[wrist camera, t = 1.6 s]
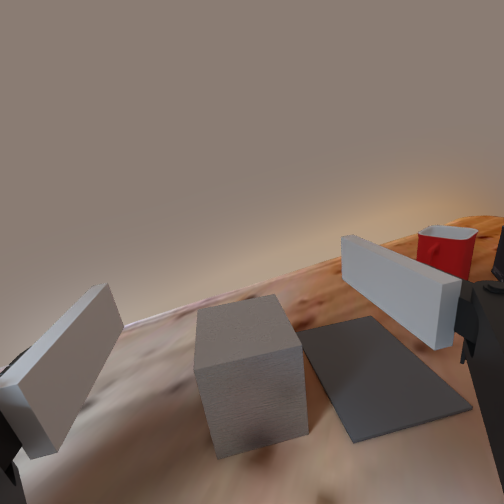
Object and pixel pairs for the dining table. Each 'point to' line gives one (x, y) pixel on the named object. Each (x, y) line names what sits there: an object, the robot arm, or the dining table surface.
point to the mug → (447, 248)
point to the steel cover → (250, 375)
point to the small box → (499, 259)
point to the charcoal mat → (376, 379)
